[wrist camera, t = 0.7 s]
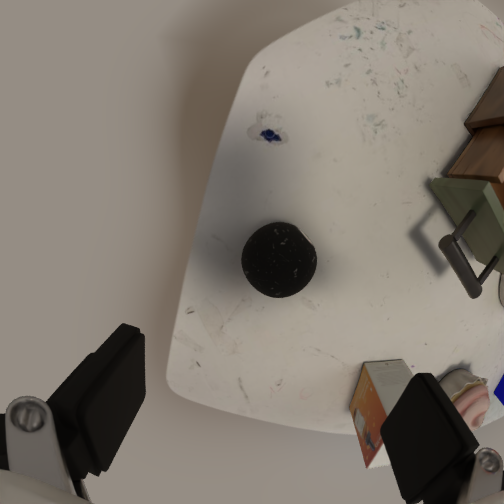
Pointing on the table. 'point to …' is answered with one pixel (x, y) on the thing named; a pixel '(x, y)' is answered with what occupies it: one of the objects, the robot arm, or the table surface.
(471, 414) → the cupcake
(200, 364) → the table surface
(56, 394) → the robot arm
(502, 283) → the mechanical component
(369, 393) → the small box
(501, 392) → the building blocks toy
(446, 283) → the table surface
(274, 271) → the billiard ball
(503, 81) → the cabinet
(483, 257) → the drawer
